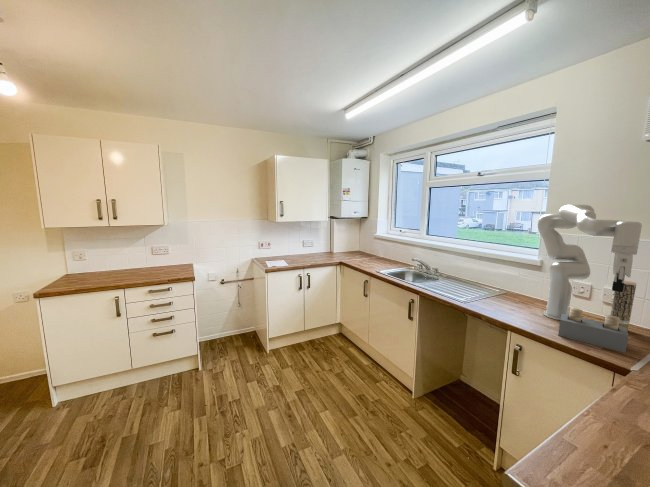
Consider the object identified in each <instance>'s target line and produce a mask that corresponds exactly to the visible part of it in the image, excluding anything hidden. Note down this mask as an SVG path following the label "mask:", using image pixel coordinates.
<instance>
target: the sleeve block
mask: <svg viewBox="0 0 650 487" xmlns="http://www.w3.org/2000/svg"><path fill="white" fill-rule="evenodd" d="M604 322H605V321H604ZM604 322H603V321H598V320H593V319H588V318H585V317H582V318H581V322H577V321H572V320H569V314H568V315H567V314H562V315H561V319H560V320H559V324H558V325H559V326H558V334H557V336H559V337H562V338H567V339H571V340H574V341H579V342H582V343H586V344H588V345H593V346H598V347H602V348H605V349H608V350H612V351H616V352H619V353H620V352H621V353H623V354H626V351H627V346H628V339H629V333H628V331H627V329H626V327H622V326H618V331H616V330H612V329H607V328H604Z"/></svg>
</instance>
